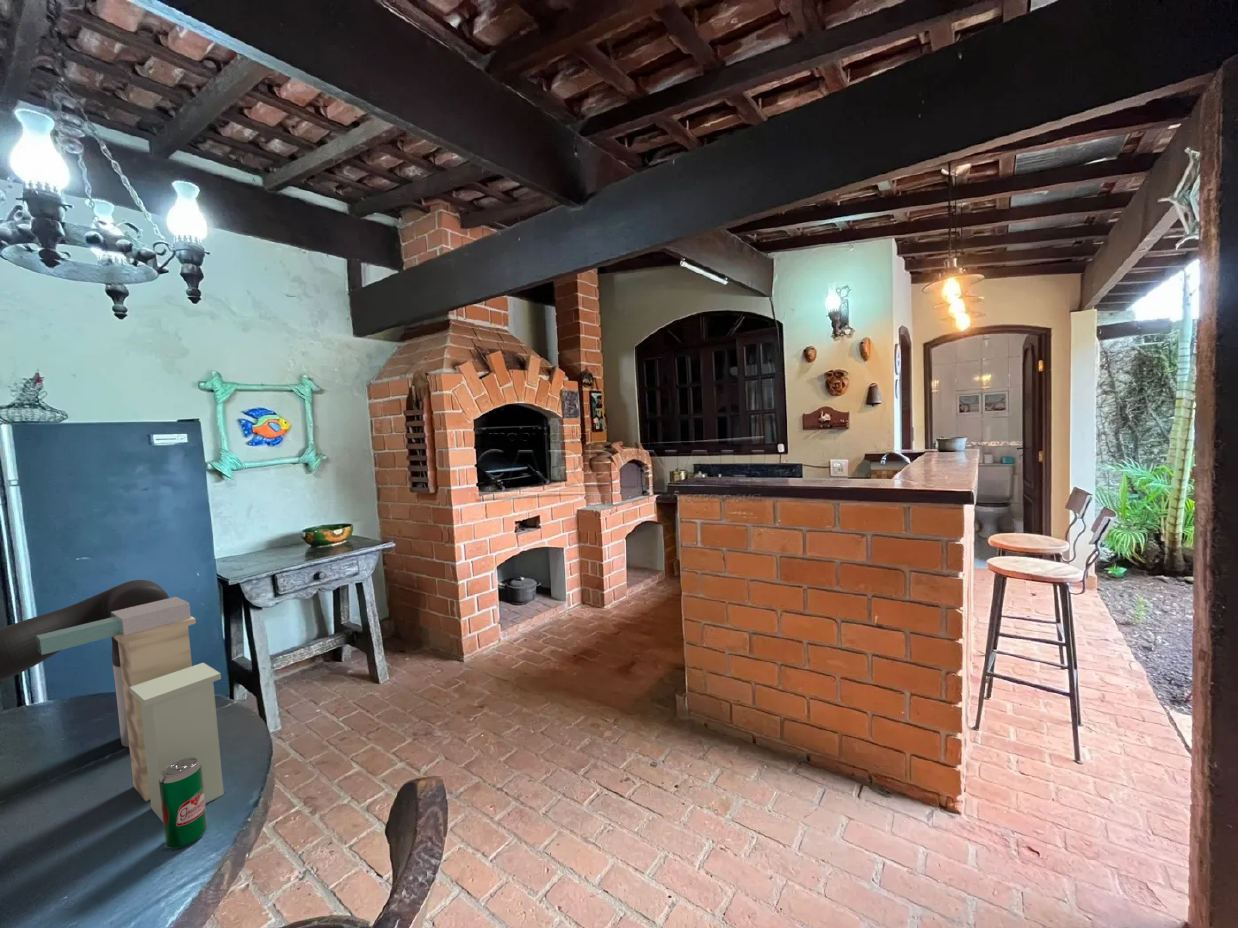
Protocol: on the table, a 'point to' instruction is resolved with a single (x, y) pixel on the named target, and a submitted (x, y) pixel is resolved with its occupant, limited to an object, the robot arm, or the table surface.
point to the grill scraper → (117, 624)
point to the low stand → (181, 726)
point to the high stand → (142, 663)
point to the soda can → (183, 802)
